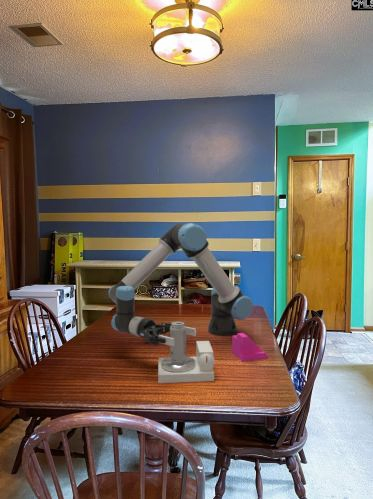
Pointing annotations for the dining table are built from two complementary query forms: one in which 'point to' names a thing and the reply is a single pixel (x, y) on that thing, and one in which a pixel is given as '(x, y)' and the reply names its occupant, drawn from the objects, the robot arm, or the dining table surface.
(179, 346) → the energy drink can
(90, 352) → the dining table surface
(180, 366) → the scale pan
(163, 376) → the scale
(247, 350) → the bracket
